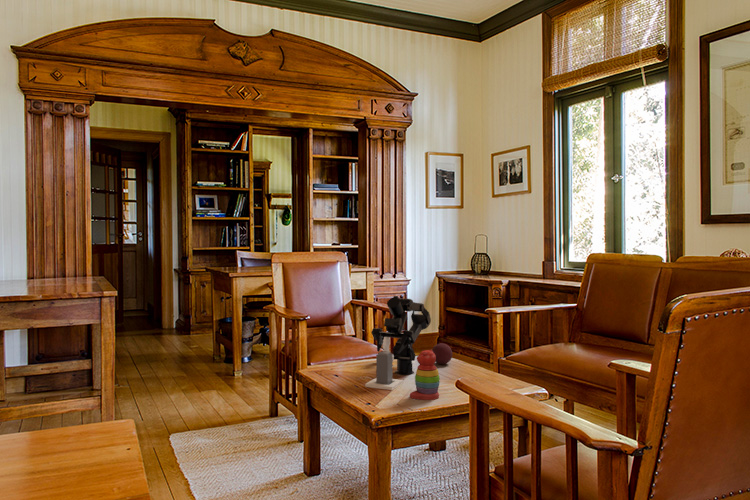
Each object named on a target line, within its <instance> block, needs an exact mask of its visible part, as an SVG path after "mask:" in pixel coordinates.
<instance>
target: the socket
mask: <svg viewBox="0 0 750 500" xmlns="http://www.w3.org/2000/svg"><path fill="white" fill-rule="evenodd" d="M403 384H404V379H396V378H392V383H391V384H390V385H385V384H377V383H376V377H375V378H373V379H371V380H370V381H368V382H365V383H364V386H365V388H372V389H381V390H389V391H393V390H394V389H397V387H400V386H401V385H403Z"/></svg>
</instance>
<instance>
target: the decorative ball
mask: <svg viewBox="0 0 750 500" xmlns="http://www.w3.org/2000/svg"><path fill="white" fill-rule="evenodd" d="M431 350H432V351H433V353H434V354H435V356H436V361H435V363H436V364H439V365H445V364H448V363H450V361H451V359H452V358H453V351H452V348H451V347H450V346H449V345H448V344H446V343H443V342H442V343H440V342H439V343H436V344H435V345H434V346H433V347H432V349H431Z"/></svg>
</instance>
